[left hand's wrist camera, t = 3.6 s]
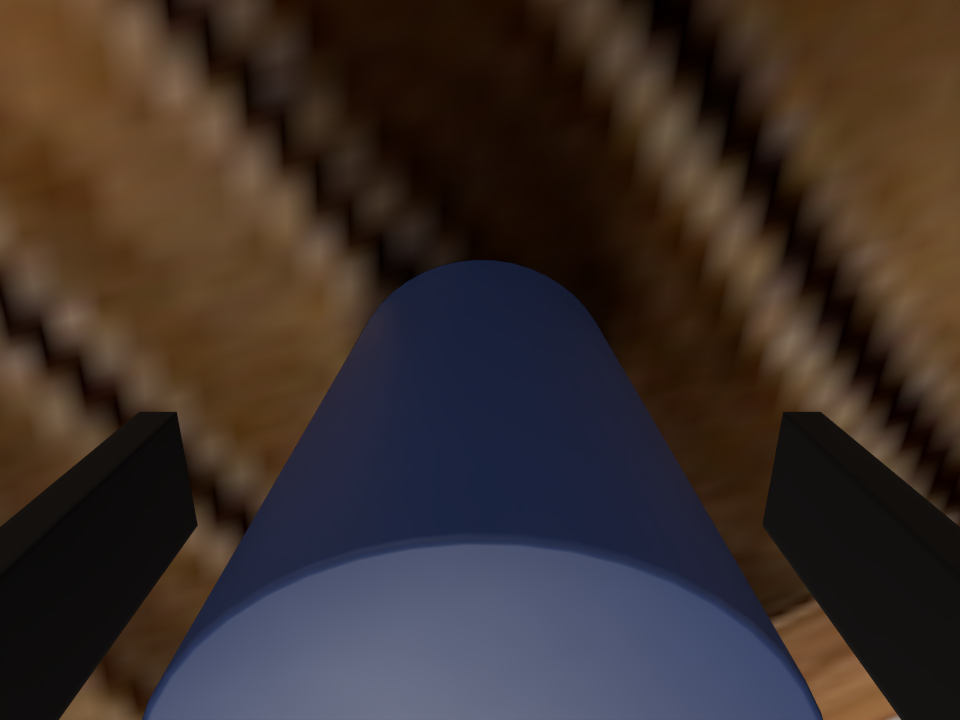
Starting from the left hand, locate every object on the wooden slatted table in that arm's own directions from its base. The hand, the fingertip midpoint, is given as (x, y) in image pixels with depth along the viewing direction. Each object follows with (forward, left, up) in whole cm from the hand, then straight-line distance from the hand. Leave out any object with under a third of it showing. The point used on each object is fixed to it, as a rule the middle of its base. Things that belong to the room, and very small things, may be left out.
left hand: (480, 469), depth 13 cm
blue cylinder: (0, 0, -4) cm, 4 cm away
